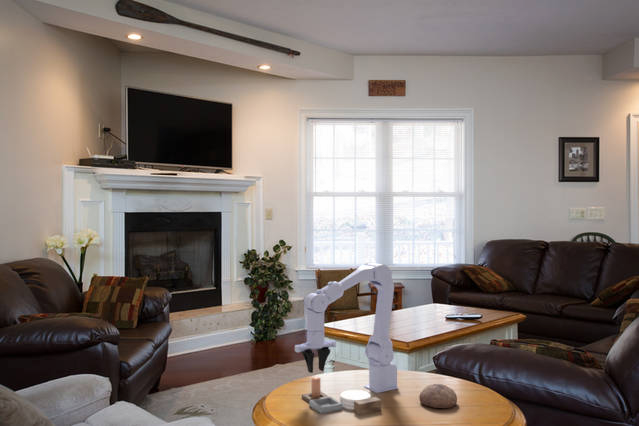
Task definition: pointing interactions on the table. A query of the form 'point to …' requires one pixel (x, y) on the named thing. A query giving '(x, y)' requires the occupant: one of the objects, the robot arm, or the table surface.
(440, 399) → the decorative stone
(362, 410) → the brown rectangular block
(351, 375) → the table surface
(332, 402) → the tray
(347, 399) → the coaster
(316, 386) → the dowel
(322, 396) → the collar
